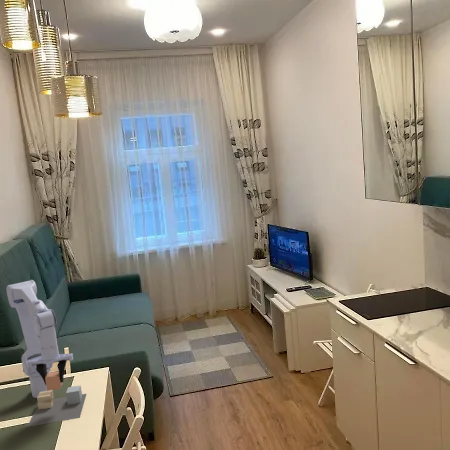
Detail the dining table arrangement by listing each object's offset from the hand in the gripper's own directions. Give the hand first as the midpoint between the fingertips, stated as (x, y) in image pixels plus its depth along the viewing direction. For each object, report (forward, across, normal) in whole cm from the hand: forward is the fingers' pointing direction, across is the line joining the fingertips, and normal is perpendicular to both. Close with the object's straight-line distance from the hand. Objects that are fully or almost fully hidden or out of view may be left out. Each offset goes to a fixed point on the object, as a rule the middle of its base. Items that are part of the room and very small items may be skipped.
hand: (54, 382), depth 168 cm
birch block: (+10, -5, +4) cm, 12 cm away
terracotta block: (+1, 0, 0) cm, 1 cm away
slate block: (+10, +5, +4) cm, 12 cm away
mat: (+10, 0, 0) cm, 10 cm away
